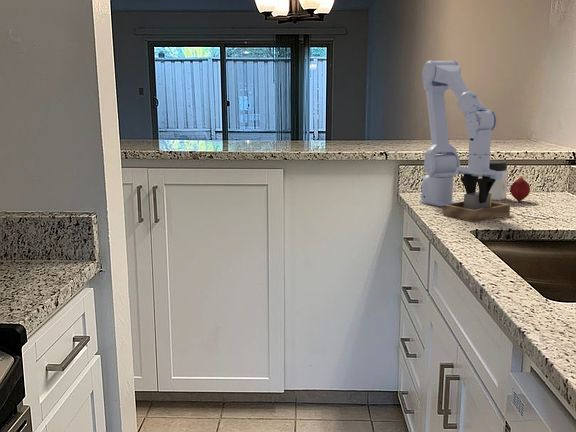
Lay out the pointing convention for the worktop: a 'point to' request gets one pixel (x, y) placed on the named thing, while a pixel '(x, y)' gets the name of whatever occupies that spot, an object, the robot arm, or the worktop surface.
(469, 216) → the wooden tray
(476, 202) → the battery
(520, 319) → the worktop surface
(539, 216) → the worktop surface
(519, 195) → the onion
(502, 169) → the jar
